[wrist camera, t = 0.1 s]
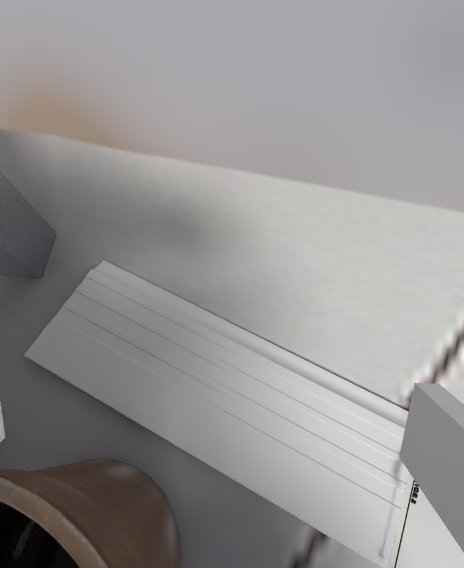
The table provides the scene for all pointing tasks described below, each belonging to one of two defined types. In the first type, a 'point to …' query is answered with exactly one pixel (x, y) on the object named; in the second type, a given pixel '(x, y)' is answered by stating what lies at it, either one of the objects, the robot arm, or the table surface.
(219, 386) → the baseboard molding
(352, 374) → the table surface
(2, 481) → the plant pot
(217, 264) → the table surface
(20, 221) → the stand
